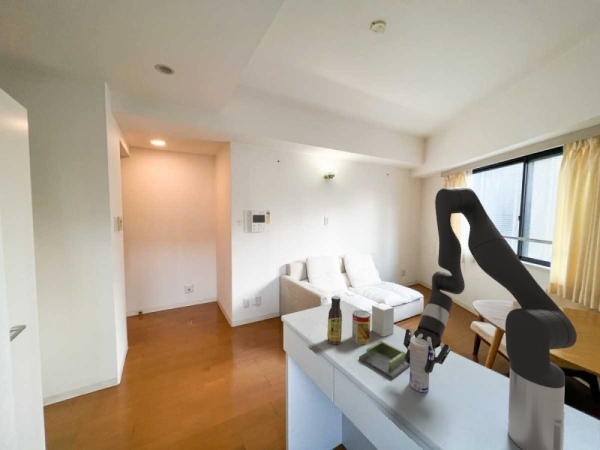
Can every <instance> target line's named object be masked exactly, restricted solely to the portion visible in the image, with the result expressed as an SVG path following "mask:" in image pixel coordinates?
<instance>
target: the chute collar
mask: <svg viewBox="0 0 600 450" xmlns="http://www.w3.org/2000/svg"><path fill="white" fill-rule="evenodd" d="M365 351H366V352H365V353H363V354H361V355H359V356H358V360H359V361H361V363H364V364H366V365H367V366H369V367H370V368H373V369H374V370H376V371H377V372H378V373H380V374H382V375H384V376H385V377H387V378H388V379H390V380H394V379H396V378H397V377H398V376H399V375H401V374H402V373H403V372H405V371H406V370H407V369H409V368H410V364H408V363H407V362H406V361H405V355H406V353H407V351H406V352H405V351H403V350H401V349H399V348H397V347H395V346H393V345H391V344H389V343H387V342H384V341H383V340H380V341H379V342H377V343H375V344H373V345H371V346H370V347H368V348H366V350H365Z"/></svg>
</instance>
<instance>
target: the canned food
mask: <svg viewBox="0 0 600 450" xmlns="http://www.w3.org/2000/svg"><path fill="white" fill-rule="evenodd" d="M351 314H352V317H351V318H352V319H351V320H352V325H351V326H352V327H351V330H352V331H351V332H352V333H351V334H352V336H351V339H352V340H353V342H354V343H357V344H358V345H359V344H360V345H366V344H367V345H368V344H369V343H370V342H371V312H369V311H367V310H364V309H356V310H353V311H352V313H351Z"/></svg>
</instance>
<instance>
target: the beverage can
mask: <svg viewBox="0 0 600 450" xmlns="http://www.w3.org/2000/svg"><path fill="white" fill-rule="evenodd" d="M429 348H430V347H429V343H428V342H427V341H425V340H423V339H420V338H415V337H412V338H411V339H410V367H409V385H410V387H411V388H413V389H414V390H415V391H418V392H420V393H425V392H428V391H429V390H430V373H429V374H428V373H426V372H425V367H426V365H427V362H428V359H429V360H430V356H429Z"/></svg>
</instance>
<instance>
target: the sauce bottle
mask: <svg viewBox="0 0 600 450" xmlns="http://www.w3.org/2000/svg"><path fill="white" fill-rule="evenodd" d="M330 300H331V305H330V308H329V311H328V317H327V333H326V334H327V335H326V336H327V339H326V340H327V342H328V344H331V345H339V344H341V341H342V334H343V331H342V330H343V328H342V327H343V313H342V312H343V311H342V309H341V297H340V296H336V295H334V296H333V295H332V296H331V299H330Z"/></svg>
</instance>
